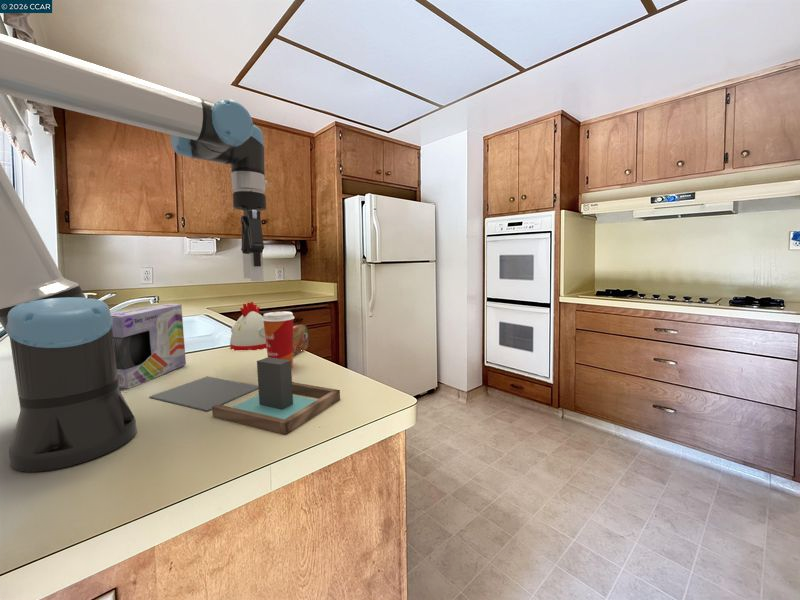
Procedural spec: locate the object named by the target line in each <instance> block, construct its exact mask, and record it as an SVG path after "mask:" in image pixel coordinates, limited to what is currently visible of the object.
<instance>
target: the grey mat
mask: <svg viewBox="0 0 800 600" xmlns="http://www.w3.org/2000/svg"><path fill="white" fill-rule="evenodd" d="M257 390H259V388H258V385H257V384H253V383H252V384H251V383H247V382H240V381H235V380H229V379H223V378H219V377H218V378H217V377H212V376H205V377H201V378H199V379H196V380H193V381H190V382H187V383H183V384H181V385H179V386H176V387H173V388H170V389H167V390H164V391H161V392H158V393H155V394H153V395H149V399H153V400H157V401H161V402H166V403H170V404H175V405H178V406H182V407H187V408H191V409H194V410H195V409H196V410H199V411H204V412H209V411H212V406H214V405H217V404H219V405H223V406H224V405H225V404H228V403H230V402H232V401H235V400H236V398H237V399H239V398H241V397H243V396H245V394H246V395H248V394H250V393H253V392H255V391H257ZM247 393H248V394H247ZM238 397H239V398H238Z"/></svg>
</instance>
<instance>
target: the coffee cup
mask: <svg viewBox="0 0 800 600" xmlns="http://www.w3.org/2000/svg"><path fill="white" fill-rule="evenodd" d="M293 314H294V313H293V312H292V311H274V312H273V311H272V312H265V313H263V315H262V316H263V319H262V320H263V321H264V330H265V338H266V347H267V348H266V353H267V357H271V358H278V359H284V360H291V368H292V369H293V366H294V364H293V363H294V357H293V326H294V319H295V316H294V315H293Z"/></svg>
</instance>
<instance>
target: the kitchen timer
mask: <svg viewBox="0 0 800 600" xmlns="http://www.w3.org/2000/svg"><path fill="white" fill-rule="evenodd" d="M242 304H243V305H242V307H240V308H239V310H240V312H241V314H242V315H241V316H239V318H238V319H237V320H236V322H235V324H234V325H233V326H231V329H230V330H231V331H230V332H231V337H230V341H229V345H230V346H229V347H230V349H231V350H232V349H234V350H233V351H236V350H253V351H258V350H257V349H260V350H263V349H264V348H265V349H267V347H266V338H265V330H264V321H263V320H262V319H263V315H262V314H260V313H259V312H260V309H261V307H260V306H257V304H254V302H253V301H249V302H247V303H242ZM265 349H264V350H265Z"/></svg>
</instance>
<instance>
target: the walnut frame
mask: <svg viewBox="0 0 800 600" xmlns="http://www.w3.org/2000/svg"><path fill="white" fill-rule="evenodd" d="M292 391H293V394H295V395H300V396H306V397H313V398H317V399H315V400H316V401H314V402H313V403H311V404H309V405H308V406H306V407H304V408H303V409H301V410H299V411H298V412H296V413H294V414H293V415H291V416H289V417H288V418H286V419H281V418H277V417H273V416H268V415H264V414H259V413H255V412H250V411H246V410H241V409H237V408H232V407H233V406H227V405H224V404H223V405H219V404H217V405H214V406H212V410H211V415H212V417H213V418H216V419H221V420H224V419H225V421H228V422H233V423H236V424H239V425H240V424H241V425H245V426H249V427H253V428H257V429H261V430H265V431H268V432H274V433H278V434H282V435H288V434H289V433H290V432H293V430H295V429H297V428H298V427H300V426H301V425H303V424H304V423H306V422H308V421H309V420H310V419H312V418H314V417H315V416H317V415H319V414H320V413H321V412H323V411H324V410H326V409H328V408H329V407H331V406H332V405H334V404H335V403H337V402H338V401H340V400H341V389H337V388H330V387H329V388H328V387H325V386H318V385H313V384H305V383H300V382H294V381H292Z"/></svg>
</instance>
